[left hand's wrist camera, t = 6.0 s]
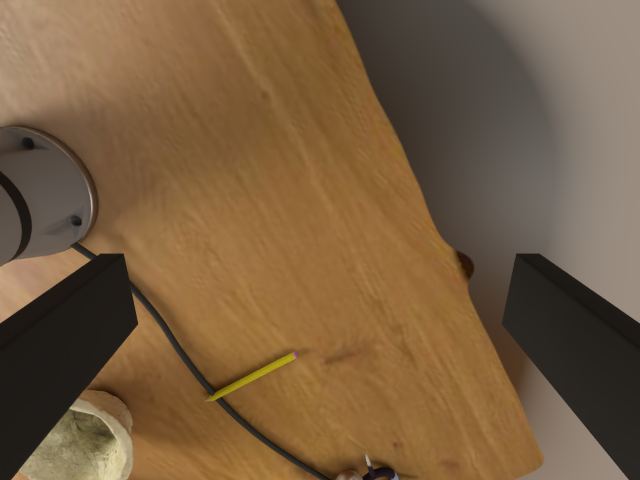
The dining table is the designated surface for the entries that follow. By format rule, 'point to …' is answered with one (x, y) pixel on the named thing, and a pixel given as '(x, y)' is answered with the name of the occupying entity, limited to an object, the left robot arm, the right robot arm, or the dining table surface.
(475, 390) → the dining table surface
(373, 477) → the toy
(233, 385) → the pencil
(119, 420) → the bowl
